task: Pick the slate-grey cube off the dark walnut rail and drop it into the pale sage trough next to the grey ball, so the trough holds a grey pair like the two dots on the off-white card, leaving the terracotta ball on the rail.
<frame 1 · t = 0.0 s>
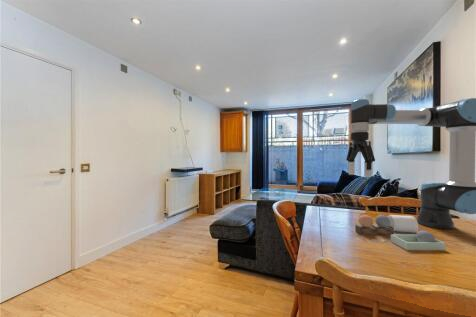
hand: (359, 175, 103), 28 cm above the table, fingers open, 13 cm apart
trough: (416, 246, 87), on the table
rail: (374, 233, 102), on the table
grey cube: (382, 227, 102), point 3 cm above the table, touching rail
ball terracotta: (365, 227, 102), point 3 cm above the table, touching rail
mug: (399, 230, 107), on the table
ball grey a: (425, 245, 87), point 1 cm above the table, touching trough
pair card: (379, 241, 92), on the table
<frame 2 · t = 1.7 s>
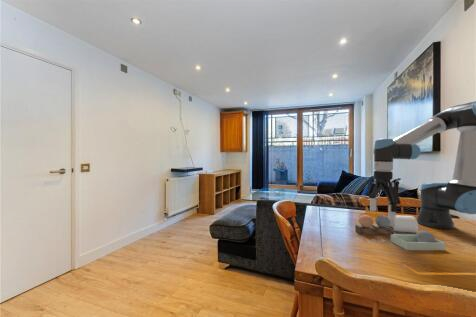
hand: (381, 214, 102), 9 cm above the table, fingers open, 13 cm apart
nothing on the table moved.
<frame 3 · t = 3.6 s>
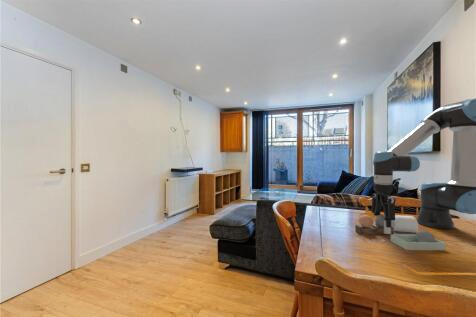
hand: (382, 231, 102), 1 cm above the table, fingers closed on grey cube, 6 cm apart
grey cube: (382, 227, 102), point 3 cm above the table, touching gripper, rail
everything else where it was.
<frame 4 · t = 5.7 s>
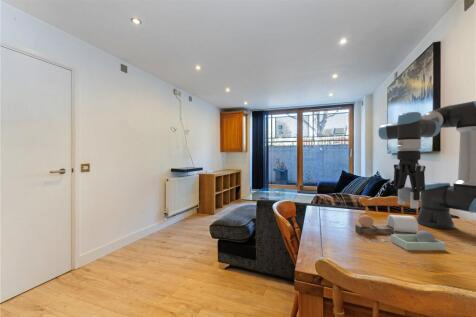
hand: (407, 206, 87), 17 cm above the table, fingers closed on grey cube, 6 cm apart
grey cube: (407, 201, 87), point 19 cm above the table, touching gripper
everything else where it was.
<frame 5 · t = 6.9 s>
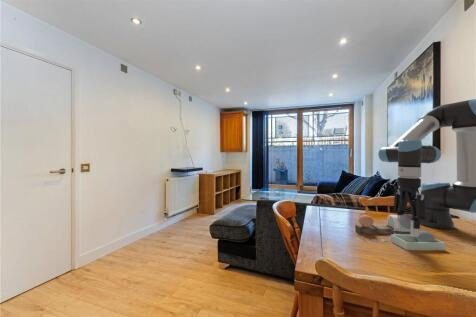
hand: (407, 233, 87), 6 cm above the table, fingers closed on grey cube, 6 cm apart
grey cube: (407, 228, 87), point 8 cm above the table, touching gripper
everything else where it was.
when the fingers open (4 cm above the table, at t = 7.8 s): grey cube drops 6 cm, resting on trough.
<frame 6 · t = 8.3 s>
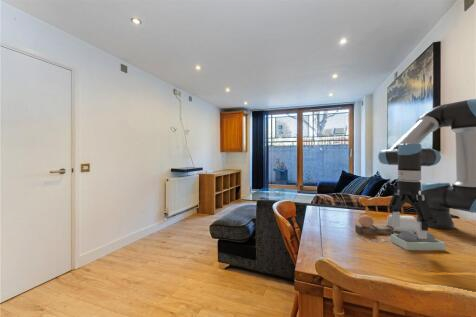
hand: (408, 232, 87), 6 cm above the table, fingers open, 13 cm apart
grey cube: (407, 245, 87), point 1 cm above the table, touching trough
everything else where it was.
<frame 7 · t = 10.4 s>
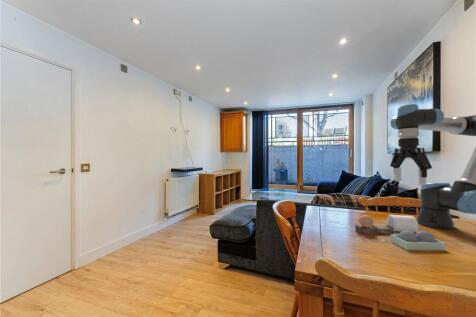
hand: (409, 182, 100), 25 cm above the table, fingers open, 13 cm apart
nothing on the table moved.
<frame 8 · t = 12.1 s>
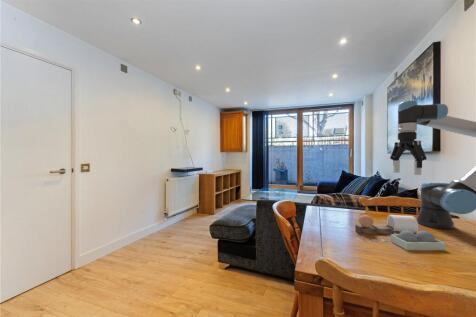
hand: (406, 173, 108), 29 cm above the table, fingers open, 13 cm apart
nothing on the table moved.
at the end: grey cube inside the target area on the trough (3.6 cm from its centre), point 0.6 cm above the trough's base; ball grey a inside the target area on the trough (3.5 cm from its centre), point 0.6 cm above the trough's base; ball terracotta moved 0.1 cm from its start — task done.
